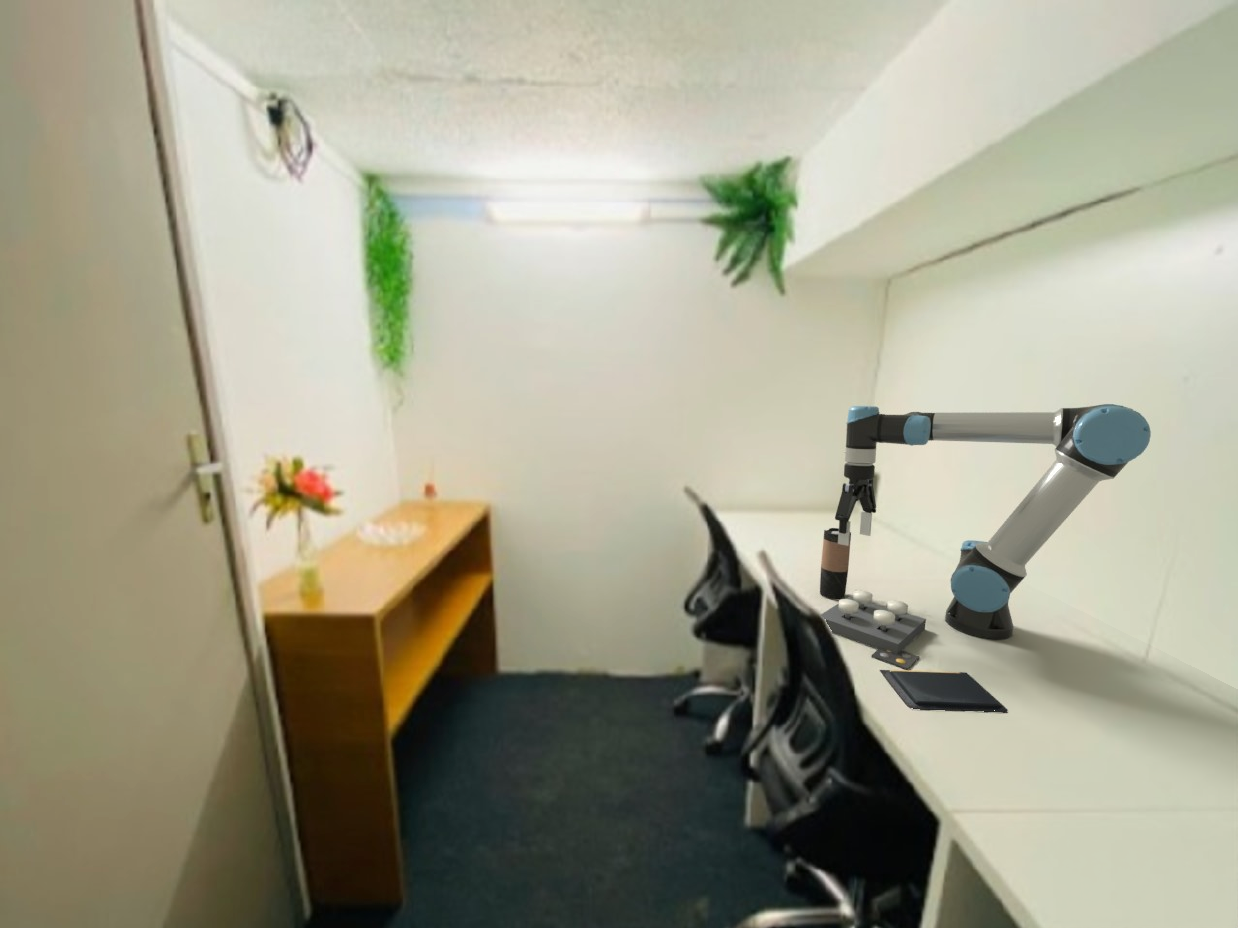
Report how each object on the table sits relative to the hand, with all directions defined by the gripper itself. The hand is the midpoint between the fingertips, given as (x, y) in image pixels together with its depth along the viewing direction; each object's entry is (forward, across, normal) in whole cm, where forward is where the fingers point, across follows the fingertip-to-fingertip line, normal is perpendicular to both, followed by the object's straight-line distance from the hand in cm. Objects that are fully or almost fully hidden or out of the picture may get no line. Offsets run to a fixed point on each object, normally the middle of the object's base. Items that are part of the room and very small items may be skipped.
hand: (854, 539), depth 149 cm
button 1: (+19, +1, +13) cm, 23 cm away
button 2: (+19, +10, +13) cm, 25 cm away
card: (+22, +16, +18) cm, 33 cm away
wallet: (+23, +23, +30) cm, 44 cm away
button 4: (+19, +10, +4) cm, 22 cm away
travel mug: (+21, -8, -9) cm, 25 cm away
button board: (+21, +5, +8) cm, 23 cm away
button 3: (+19, +1, +4) cm, 19 cm away
